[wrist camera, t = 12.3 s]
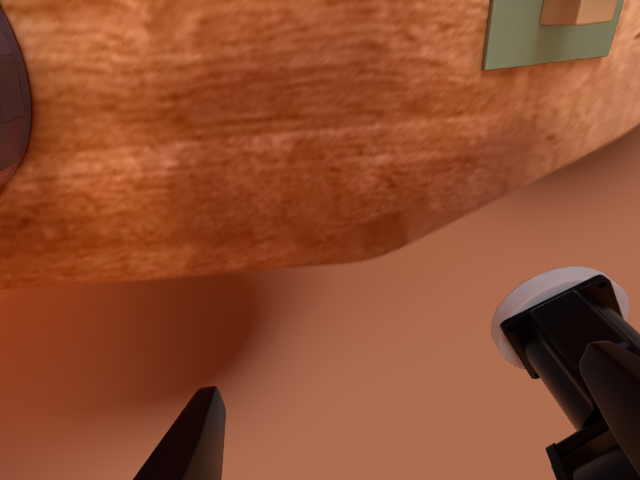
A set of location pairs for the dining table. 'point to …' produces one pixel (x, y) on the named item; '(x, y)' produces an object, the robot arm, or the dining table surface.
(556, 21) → the beige slabs
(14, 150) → the bowl
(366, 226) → the dining table surface
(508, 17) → the mat
